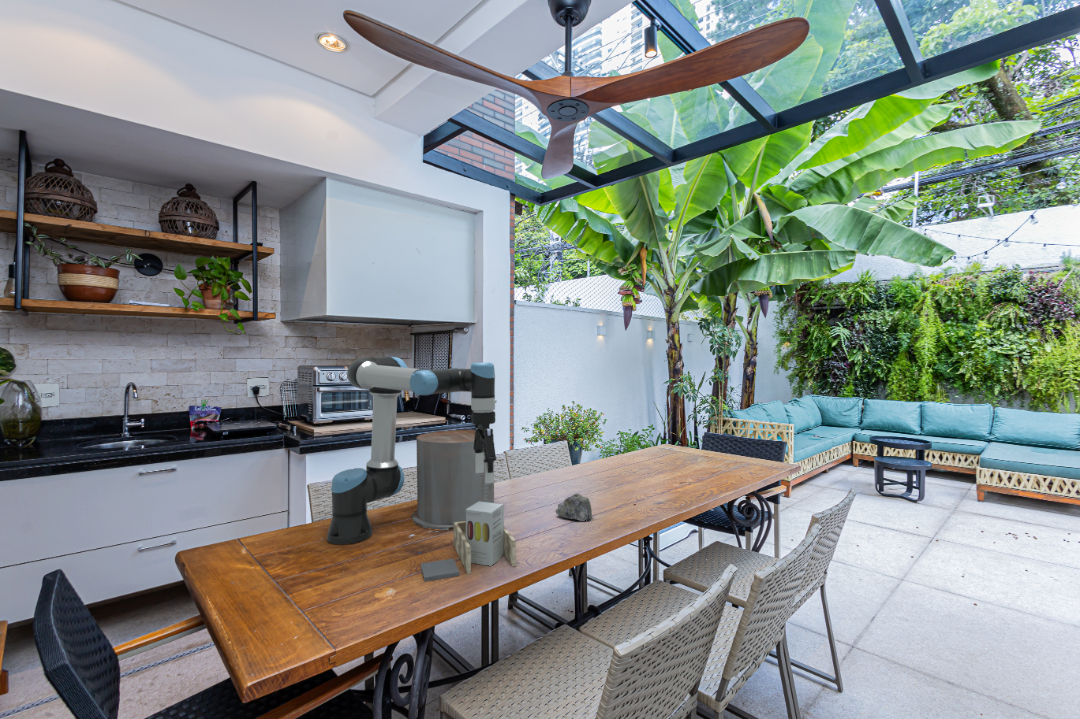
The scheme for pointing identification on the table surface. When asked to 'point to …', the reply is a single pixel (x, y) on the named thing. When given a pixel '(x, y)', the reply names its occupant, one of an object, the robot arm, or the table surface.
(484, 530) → the supplement box
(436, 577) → the plate
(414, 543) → the table surface
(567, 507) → the mineral rock
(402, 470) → the robot arm
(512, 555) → the shelf bay
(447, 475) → the grey streaked cylinder
